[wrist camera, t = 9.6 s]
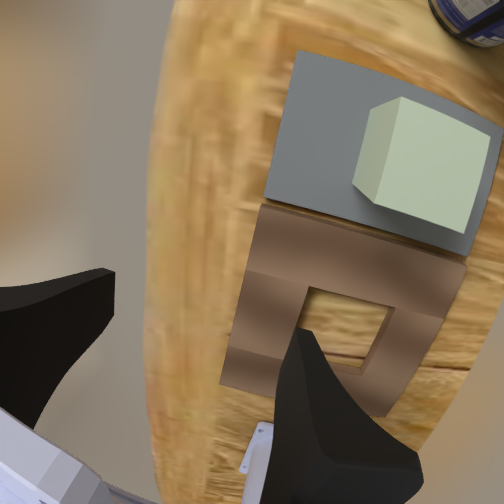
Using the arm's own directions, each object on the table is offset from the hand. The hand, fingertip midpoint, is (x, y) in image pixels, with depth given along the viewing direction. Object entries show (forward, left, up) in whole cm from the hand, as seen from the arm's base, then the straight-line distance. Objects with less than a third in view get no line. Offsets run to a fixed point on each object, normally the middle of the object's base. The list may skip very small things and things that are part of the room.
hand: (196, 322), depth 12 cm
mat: (+8, -8, -9) cm, 14 cm away
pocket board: (-4, -8, -9) cm, 13 cm away
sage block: (+8, -8, -9) cm, 14 cm away
